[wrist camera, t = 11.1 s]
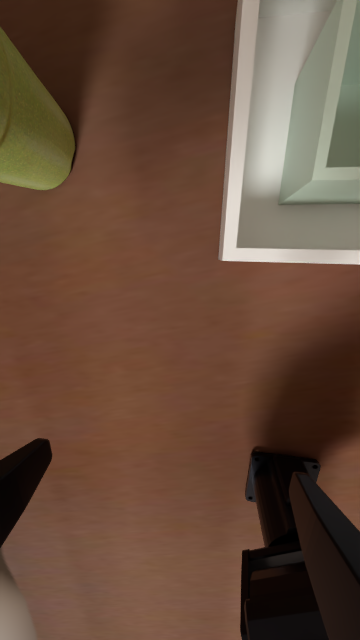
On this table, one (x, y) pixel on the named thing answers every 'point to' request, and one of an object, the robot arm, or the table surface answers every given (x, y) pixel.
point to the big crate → (275, 143)
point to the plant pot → (30, 126)
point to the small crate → (326, 117)
